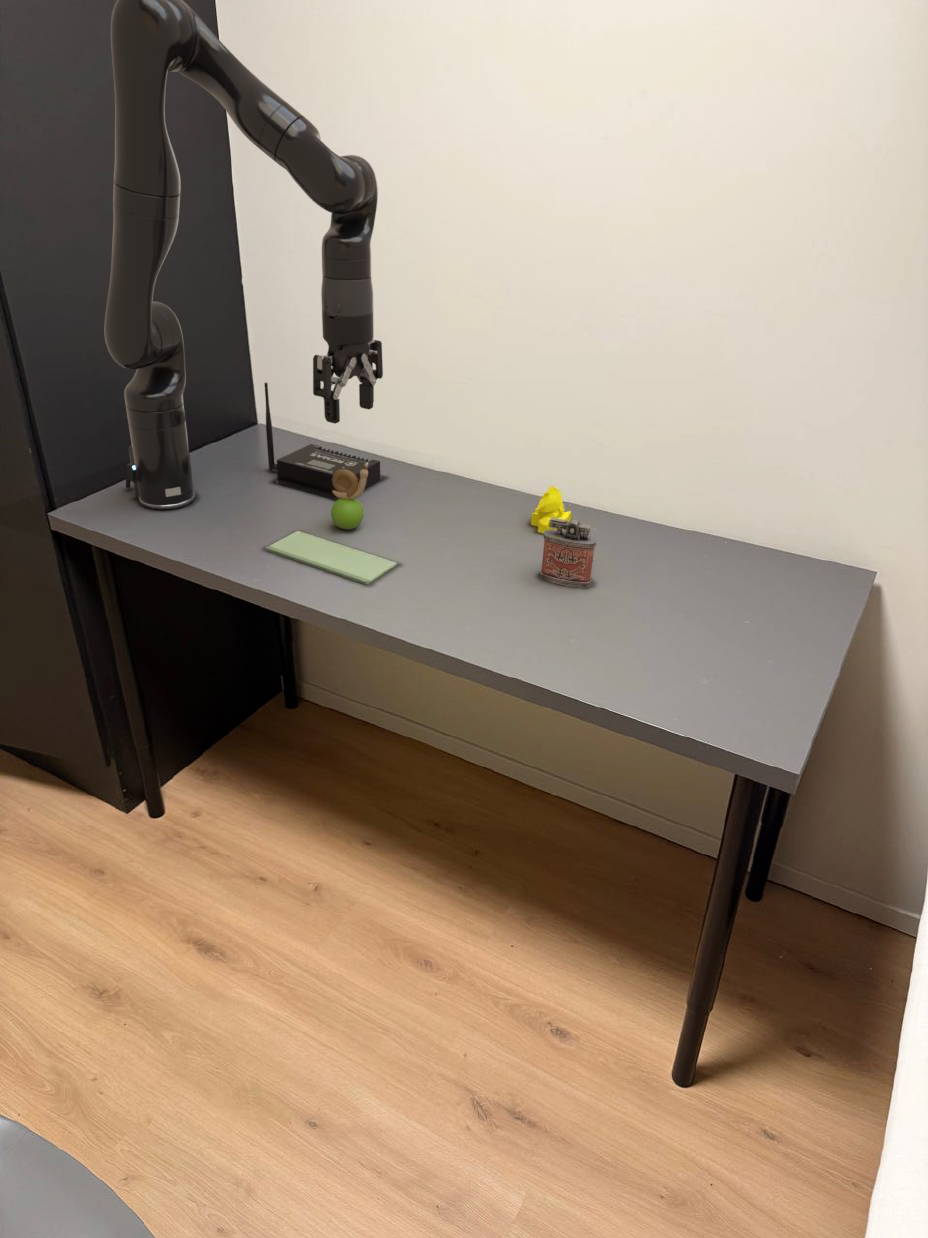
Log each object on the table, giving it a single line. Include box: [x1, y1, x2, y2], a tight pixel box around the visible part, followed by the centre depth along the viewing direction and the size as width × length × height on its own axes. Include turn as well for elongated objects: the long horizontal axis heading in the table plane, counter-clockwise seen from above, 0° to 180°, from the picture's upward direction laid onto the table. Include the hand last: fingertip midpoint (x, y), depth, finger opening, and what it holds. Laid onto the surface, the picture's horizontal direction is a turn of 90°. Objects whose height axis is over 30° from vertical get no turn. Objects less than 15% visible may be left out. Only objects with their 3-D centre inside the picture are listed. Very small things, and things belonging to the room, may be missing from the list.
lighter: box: [539, 518, 597, 589], centre depth 140 cm, size 8×3×10 cm, turn 71°
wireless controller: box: [263, 382, 385, 501], centre depth 169 cm, size 20×14×17 cm
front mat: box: [264, 530, 398, 586], centre depth 146 cm, size 20×8×1 cm, turn 59°
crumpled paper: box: [530, 485, 572, 535], centre depth 158 cm, size 6×8×8 cm
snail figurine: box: [330, 462, 369, 530], centre depth 152 cm, size 5×6×12 cm
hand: (349, 414), depth 143 cm, fingers open, 8 cm apart
